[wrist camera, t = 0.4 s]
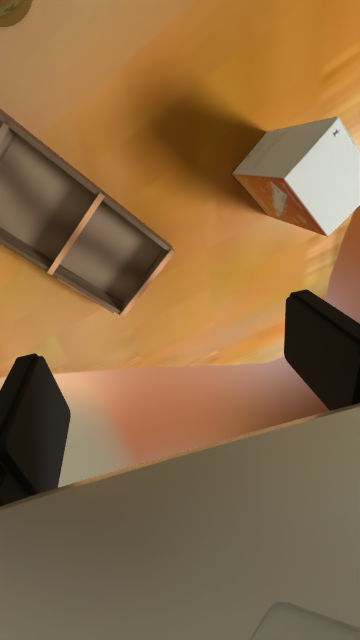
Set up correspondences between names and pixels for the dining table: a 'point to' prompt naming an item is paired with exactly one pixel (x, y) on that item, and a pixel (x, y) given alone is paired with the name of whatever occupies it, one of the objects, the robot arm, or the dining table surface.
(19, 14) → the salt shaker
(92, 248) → the wooden compartment tray
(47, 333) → the dining table surface
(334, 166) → the small box
